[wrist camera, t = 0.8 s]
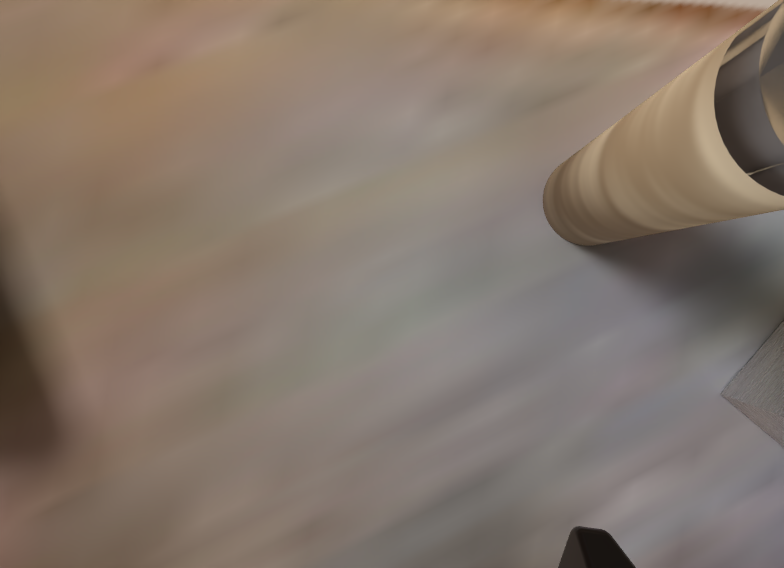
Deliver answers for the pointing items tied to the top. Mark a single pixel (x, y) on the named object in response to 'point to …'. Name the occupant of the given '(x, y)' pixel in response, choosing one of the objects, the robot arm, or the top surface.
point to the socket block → (762, 387)
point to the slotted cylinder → (685, 149)
